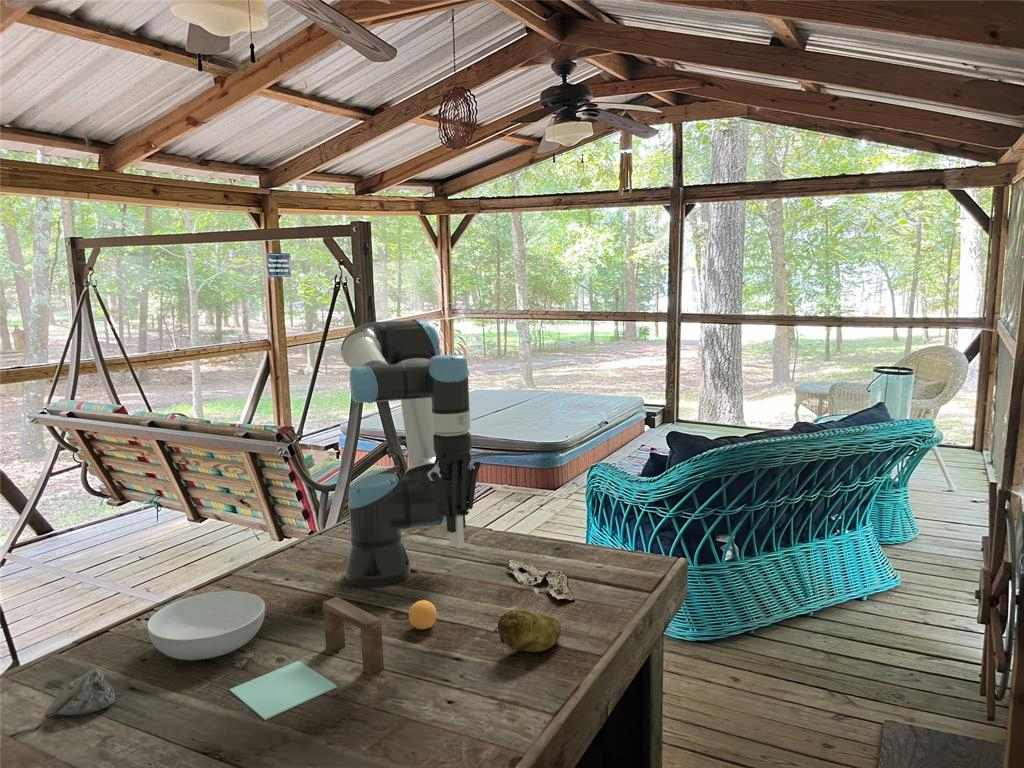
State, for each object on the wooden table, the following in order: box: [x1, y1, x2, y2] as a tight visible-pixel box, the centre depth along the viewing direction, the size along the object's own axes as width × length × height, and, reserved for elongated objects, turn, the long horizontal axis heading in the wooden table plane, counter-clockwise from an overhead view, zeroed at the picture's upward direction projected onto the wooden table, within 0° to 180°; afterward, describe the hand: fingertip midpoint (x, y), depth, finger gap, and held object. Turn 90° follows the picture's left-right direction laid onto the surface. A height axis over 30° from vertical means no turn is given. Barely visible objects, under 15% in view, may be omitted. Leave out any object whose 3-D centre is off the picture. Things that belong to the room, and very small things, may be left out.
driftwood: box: [505, 558, 576, 602], centre depth 167 cm, size 25×10×5 cm
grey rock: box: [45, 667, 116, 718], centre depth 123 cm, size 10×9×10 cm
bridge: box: [322, 596, 385, 676], centre depth 135 cm, size 3×14×9 cm, turn 45°
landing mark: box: [228, 660, 338, 721], centre depth 126 cm, size 13×13×1 cm
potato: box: [497, 608, 562, 653], centre depth 136 cm, size 8×13×8 cm, turn 108°
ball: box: [408, 599, 438, 630], centre depth 146 cm, size 6×6×6 cm
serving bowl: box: [146, 590, 266, 661], centre depth 142 cm, size 21×21×7 cm
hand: (457, 545), depth 151 cm, fingers closed
